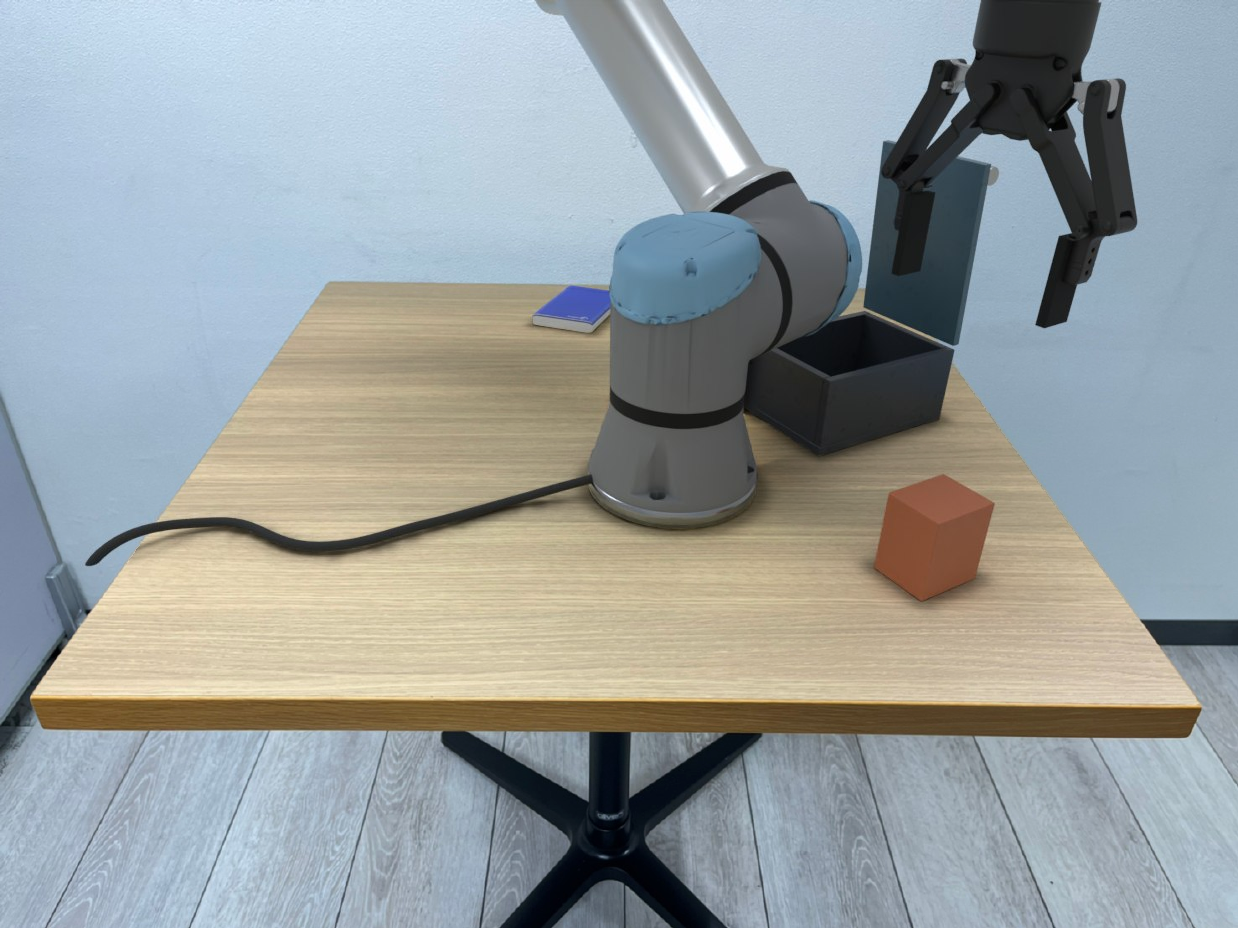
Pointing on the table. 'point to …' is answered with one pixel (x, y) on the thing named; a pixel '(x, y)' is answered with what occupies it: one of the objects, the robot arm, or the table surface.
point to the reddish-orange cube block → (933, 536)
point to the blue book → (575, 309)
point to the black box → (849, 383)
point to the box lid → (930, 251)
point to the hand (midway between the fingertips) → (973, 296)
